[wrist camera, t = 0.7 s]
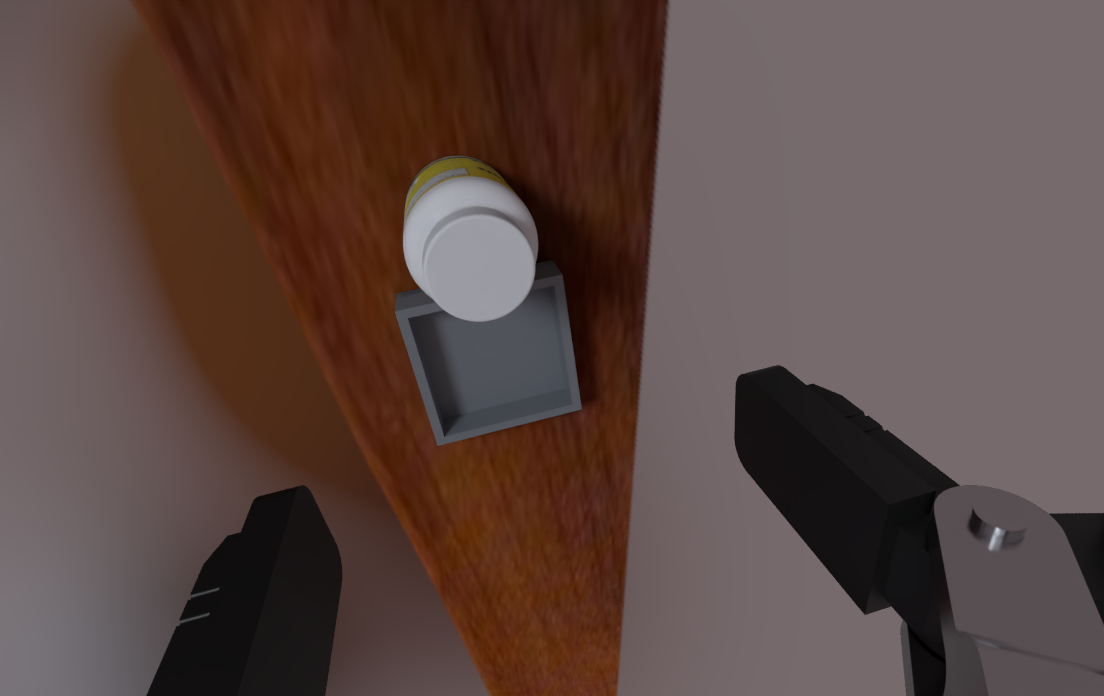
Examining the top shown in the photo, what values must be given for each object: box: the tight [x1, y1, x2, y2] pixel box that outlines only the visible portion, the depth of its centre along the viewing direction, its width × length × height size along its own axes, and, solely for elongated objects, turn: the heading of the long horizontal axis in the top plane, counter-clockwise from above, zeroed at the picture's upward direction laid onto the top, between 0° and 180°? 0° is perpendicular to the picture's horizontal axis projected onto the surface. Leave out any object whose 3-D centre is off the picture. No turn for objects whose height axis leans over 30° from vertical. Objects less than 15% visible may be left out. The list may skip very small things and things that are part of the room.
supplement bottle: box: [403, 156, 538, 322], centre depth 23 cm, size 5×5×10 cm
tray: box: [395, 260, 582, 446], centre depth 30 cm, size 9×9×2 cm
